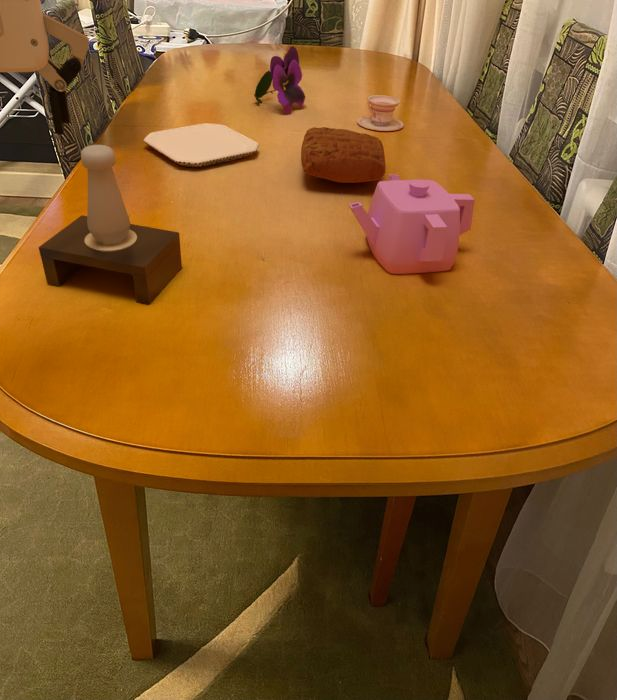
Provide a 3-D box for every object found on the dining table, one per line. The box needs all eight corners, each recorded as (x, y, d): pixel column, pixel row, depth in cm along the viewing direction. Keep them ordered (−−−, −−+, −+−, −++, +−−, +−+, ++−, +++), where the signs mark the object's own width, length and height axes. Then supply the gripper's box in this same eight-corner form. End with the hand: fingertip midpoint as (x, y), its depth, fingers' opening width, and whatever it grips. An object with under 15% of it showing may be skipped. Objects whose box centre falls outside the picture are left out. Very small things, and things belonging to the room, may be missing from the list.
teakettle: (434, 290, 92) (451, 215, 84) (337, 257, 98) (345, 184, 91) (472, 248, 104) (490, 179, 96) (384, 221, 110) (393, 154, 103)
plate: (184, 175, 122) (183, 164, 121) (137, 144, 134) (136, 134, 133) (267, 156, 133) (267, 146, 131) (217, 130, 145) (216, 120, 144)
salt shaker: (140, 234, 88) (128, 144, 80) (117, 251, 83) (103, 158, 76) (105, 226, 89) (90, 137, 81) (81, 242, 85) (63, 150, 77)
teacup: (412, 125, 156) (416, 100, 153) (385, 135, 149) (388, 109, 145) (375, 114, 162) (378, 90, 159) (347, 123, 155) (349, 98, 151)
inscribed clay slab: (382, 200, 118) (388, 160, 113) (295, 193, 118) (297, 152, 113) (381, 160, 135) (386, 123, 130) (305, 153, 136) (307, 117, 131)
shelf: (47, 284, 87) (37, 245, 83) (88, 250, 96) (81, 213, 92) (149, 305, 84) (144, 266, 81) (182, 267, 93) (179, 231, 89)
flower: (250, 129, 162) (288, 114, 154) (227, 72, 157) (266, 53, 148) (279, 117, 172) (317, 102, 164) (259, 62, 167) (297, 44, 159)
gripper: (-184, -94, 43) (-104, 146, 53) (72, -76, 48) (101, 142, 58) (-153, -96, 49) (-86, 121, 59) (74, -80, 54) (100, 119, 64)
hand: (7, 131), depth 59 cm, fingers open, 9 cm apart
